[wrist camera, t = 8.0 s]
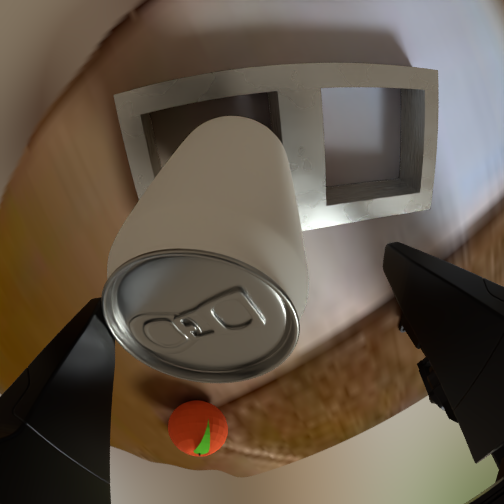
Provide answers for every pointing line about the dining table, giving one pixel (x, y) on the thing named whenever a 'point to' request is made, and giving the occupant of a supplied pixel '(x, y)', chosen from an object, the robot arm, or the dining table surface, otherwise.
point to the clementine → (197, 428)
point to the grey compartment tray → (305, 132)
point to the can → (212, 259)
